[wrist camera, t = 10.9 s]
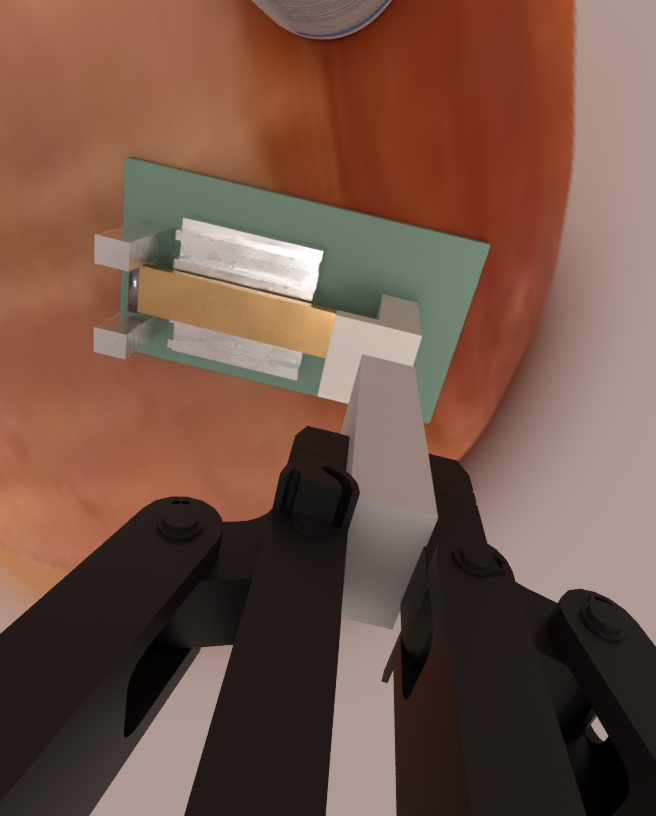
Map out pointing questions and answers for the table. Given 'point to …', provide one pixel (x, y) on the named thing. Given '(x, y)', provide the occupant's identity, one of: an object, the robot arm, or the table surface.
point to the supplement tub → (322, 15)
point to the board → (341, 271)
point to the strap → (230, 309)
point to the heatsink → (219, 260)
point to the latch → (369, 343)
